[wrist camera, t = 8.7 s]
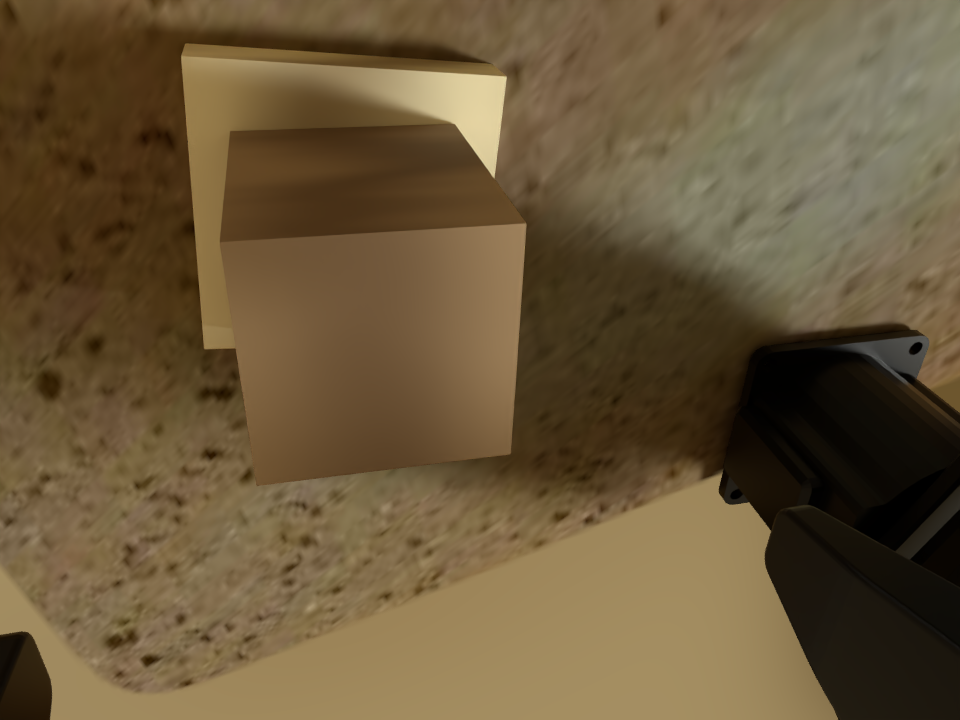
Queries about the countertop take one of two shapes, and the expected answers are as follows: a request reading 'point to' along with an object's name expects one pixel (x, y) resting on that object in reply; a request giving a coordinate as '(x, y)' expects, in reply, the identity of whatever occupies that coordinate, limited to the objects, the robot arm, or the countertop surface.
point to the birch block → (312, 122)
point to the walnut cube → (370, 298)
